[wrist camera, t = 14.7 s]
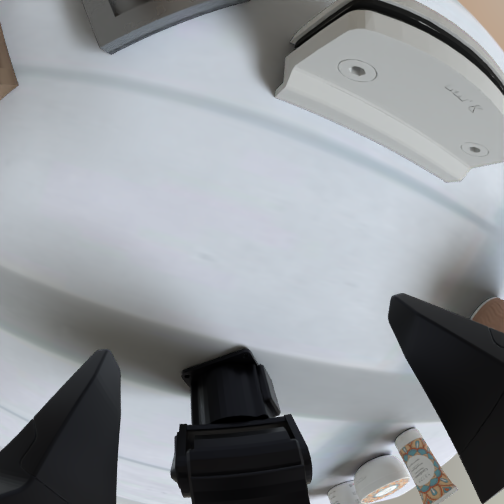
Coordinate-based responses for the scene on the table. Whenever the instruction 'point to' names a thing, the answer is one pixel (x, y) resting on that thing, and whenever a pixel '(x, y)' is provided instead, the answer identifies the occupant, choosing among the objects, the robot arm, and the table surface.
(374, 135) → the white plastic device casing
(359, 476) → the cosmetic set
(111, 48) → the metal cradle
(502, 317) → the coffee cup
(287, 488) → the robot arm
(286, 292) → the table surface
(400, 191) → the table surface
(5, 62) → the walnut collar block
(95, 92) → the table surface
